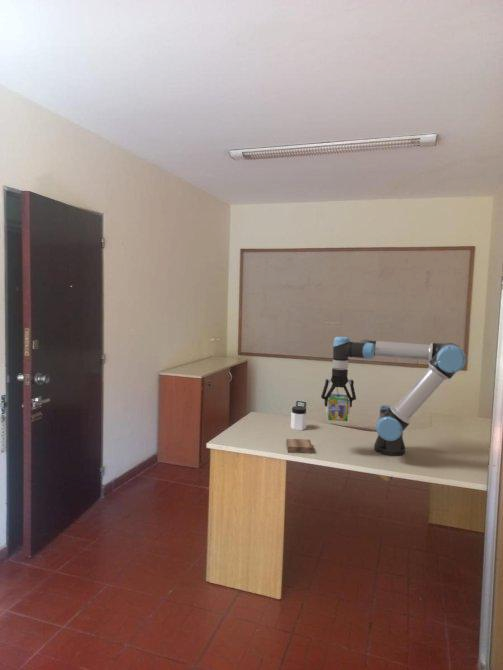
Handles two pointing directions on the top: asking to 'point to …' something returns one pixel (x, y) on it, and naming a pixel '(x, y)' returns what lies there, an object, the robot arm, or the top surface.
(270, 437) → the top surface
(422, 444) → the top surface
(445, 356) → the robot arm
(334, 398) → the chalk box
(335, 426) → the top surface
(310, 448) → the block
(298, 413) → the jar
